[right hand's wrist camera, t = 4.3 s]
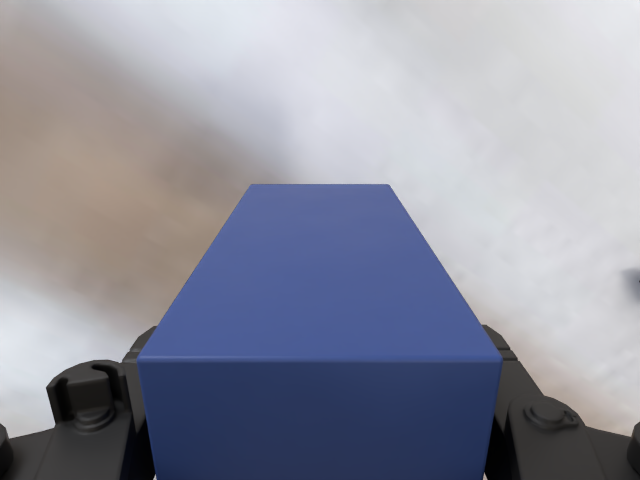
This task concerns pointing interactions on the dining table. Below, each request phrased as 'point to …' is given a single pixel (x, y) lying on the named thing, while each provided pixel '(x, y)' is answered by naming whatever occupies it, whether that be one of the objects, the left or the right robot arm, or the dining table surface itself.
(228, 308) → the brick
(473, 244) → the dining table surface
